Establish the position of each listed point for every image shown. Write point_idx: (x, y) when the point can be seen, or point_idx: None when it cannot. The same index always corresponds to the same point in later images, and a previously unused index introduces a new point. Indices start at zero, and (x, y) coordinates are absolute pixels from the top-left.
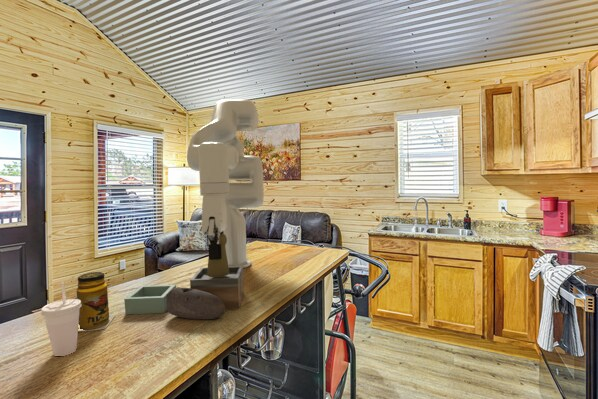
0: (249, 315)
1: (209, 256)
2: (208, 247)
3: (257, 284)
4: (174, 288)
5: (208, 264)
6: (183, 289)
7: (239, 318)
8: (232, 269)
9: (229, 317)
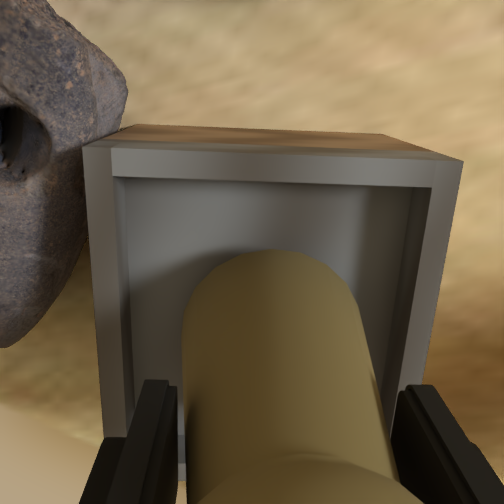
0: (74, 407)
1: (139, 402)
2: (110, 488)
3: (472, 417)
4: (16, 20)
5: (233, 313)
6: (17, 103)
7: (44, 371)
8: (386, 407)
9: (54, 329)
